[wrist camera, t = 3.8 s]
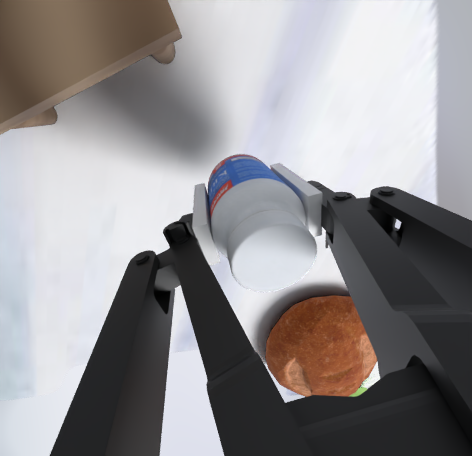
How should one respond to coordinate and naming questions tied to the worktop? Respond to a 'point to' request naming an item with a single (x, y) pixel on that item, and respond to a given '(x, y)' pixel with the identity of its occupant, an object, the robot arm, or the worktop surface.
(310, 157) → the worktop surface
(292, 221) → the pill bottle
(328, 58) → the worktop surface
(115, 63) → the small wooden table
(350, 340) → the bread
